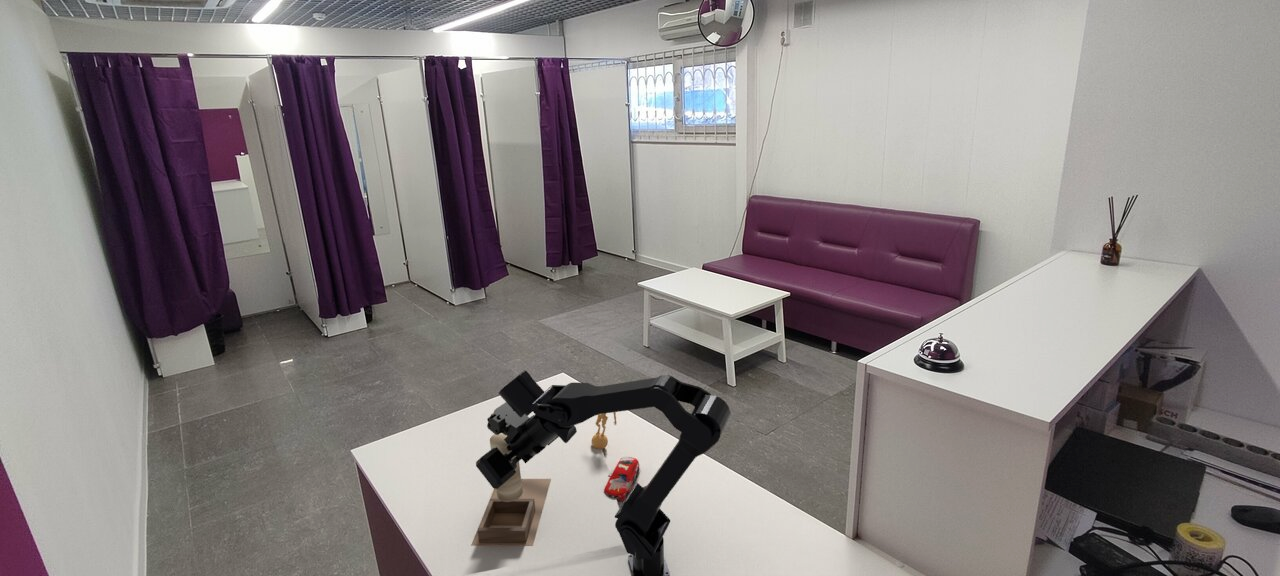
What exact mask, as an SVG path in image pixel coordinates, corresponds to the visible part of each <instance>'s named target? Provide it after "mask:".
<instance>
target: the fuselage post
mask: <svg viewBox="0 0 1280 576" xmlns="http://www.w3.org/2000/svg"><path fill="white" fill-rule="evenodd" d="M506 437H507V435H504V434H503V433H500V434H499V435H495V434H494V433H493V434H492V435H491V436H490V439H489V444H490V450H491V449H493V448H496V447H497V448H498V449H499V450H500V452H501V453H503V455H504V454H505V453H507V454H509V453H510V452H511V451H512V450H511V451H510V452H509V451H508V450H507V449H506V447H507V446H509V445H510V444H507V443H506V442H505V440H504V439H505V438H506ZM515 457H516V456H514V457H513V458H512V459H511V460H513V459H514V458H515ZM520 465H521V464H520V461H519V462H517V468H516V469H515V471H516V473H515V474H514V475H513V476H512V477H511V478H510V479H508V480H507V481H506V482H505V483H504V484H503V485H501V486H500V487H499V488H498V489H496V490H497V497H498V499H499V500H500V501H503V502H511V501H514V500H517V499H518V498H519V497H521V495H522V493H523V490H522V482H521V479H522V476H521V475H522V474H521V466H520Z"/></svg>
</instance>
